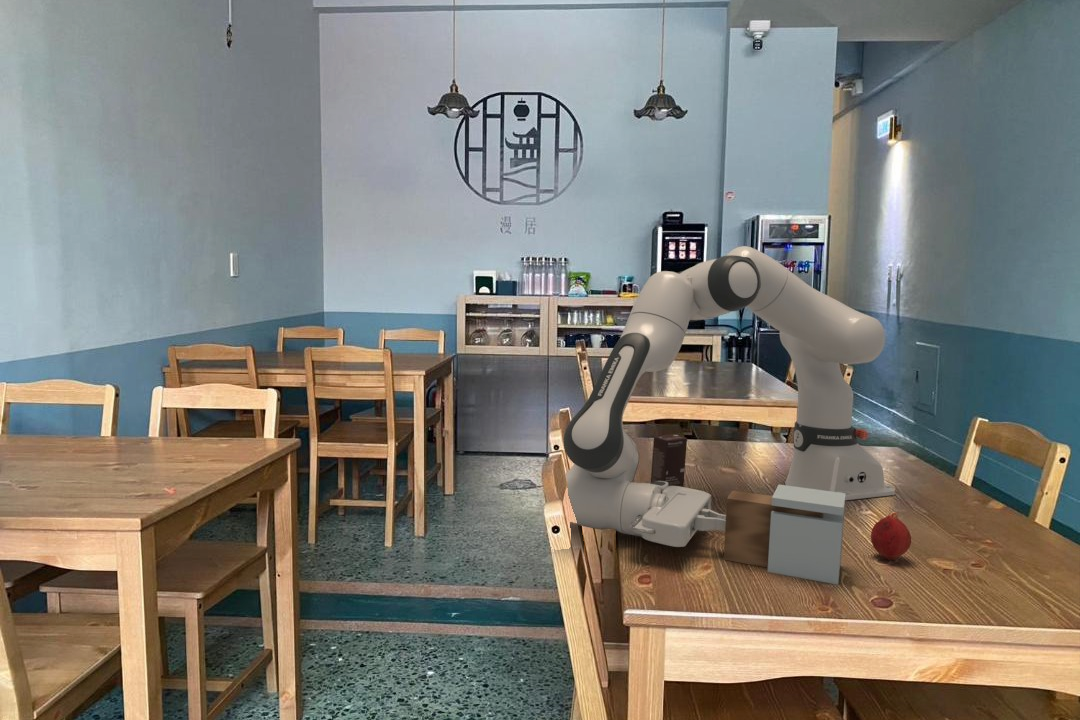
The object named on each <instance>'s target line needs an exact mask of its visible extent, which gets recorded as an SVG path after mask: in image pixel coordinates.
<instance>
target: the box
mask: <svg viewBox="0 0 1080 720" xmlns="http://www.w3.org/2000/svg"><path fill="white" fill-rule="evenodd" d="M687 443H688V438H687V437H685V436H681V435H678V434H675V433H673V434H671V433H670V434H663V435H657V436H656V435H655V436H653V444H652V456H651V457H652V458H651V474H650V475H651V476H650V483H652V482H656V481H665V482H668V487H669V486H680V487H685V486H684V485H685V484H684V483H685V471H686V468H685V467H686V459H687V457H686V456H687V445H688V444H687Z"/></svg>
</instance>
